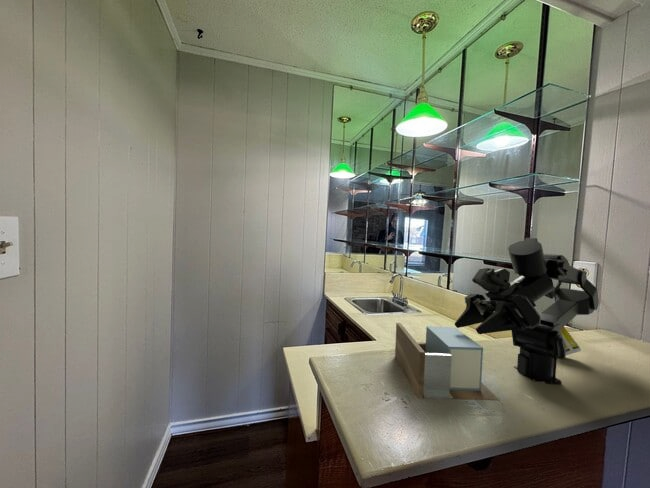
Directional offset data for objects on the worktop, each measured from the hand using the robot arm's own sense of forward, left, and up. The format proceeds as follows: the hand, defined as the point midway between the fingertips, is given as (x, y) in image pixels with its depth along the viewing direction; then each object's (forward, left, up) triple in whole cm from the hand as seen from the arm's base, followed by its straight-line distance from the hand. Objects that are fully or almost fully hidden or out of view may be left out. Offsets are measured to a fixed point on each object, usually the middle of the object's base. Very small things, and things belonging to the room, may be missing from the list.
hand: (465, 328), depth 57 cm
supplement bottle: (-35, -13, -11) cm, 39 cm away
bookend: (+8, +5, -12) cm, 15 cm away
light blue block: (+2, -3, -12) cm, 12 cm away
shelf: (+4, -2, -12) cm, 13 cm away
